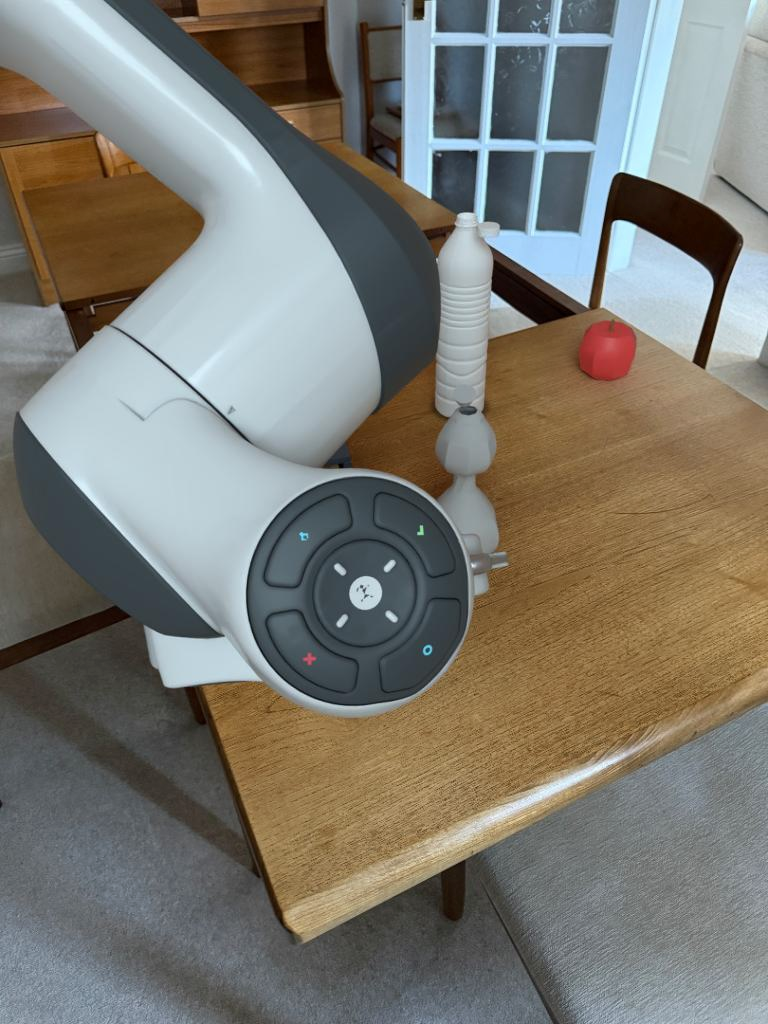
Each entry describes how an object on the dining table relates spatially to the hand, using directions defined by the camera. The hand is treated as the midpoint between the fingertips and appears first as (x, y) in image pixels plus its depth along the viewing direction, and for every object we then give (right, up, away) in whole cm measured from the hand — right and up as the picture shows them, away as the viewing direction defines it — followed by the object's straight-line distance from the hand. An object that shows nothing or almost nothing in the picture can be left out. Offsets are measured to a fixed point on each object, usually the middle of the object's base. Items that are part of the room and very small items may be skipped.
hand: (311, 592), depth 51 cm
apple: (+36, +25, +54) cm, 69 cm away
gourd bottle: (+13, +1, +26) cm, 29 cm away
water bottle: (+16, +19, +47) cm, 53 cm away
